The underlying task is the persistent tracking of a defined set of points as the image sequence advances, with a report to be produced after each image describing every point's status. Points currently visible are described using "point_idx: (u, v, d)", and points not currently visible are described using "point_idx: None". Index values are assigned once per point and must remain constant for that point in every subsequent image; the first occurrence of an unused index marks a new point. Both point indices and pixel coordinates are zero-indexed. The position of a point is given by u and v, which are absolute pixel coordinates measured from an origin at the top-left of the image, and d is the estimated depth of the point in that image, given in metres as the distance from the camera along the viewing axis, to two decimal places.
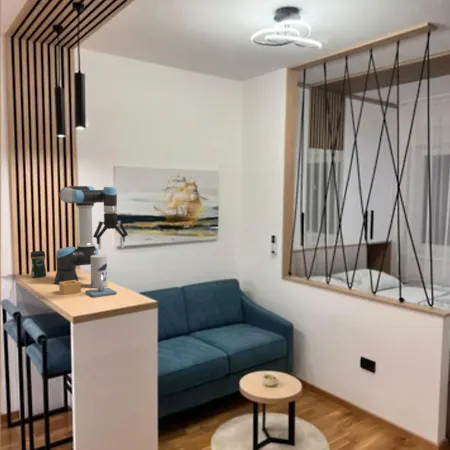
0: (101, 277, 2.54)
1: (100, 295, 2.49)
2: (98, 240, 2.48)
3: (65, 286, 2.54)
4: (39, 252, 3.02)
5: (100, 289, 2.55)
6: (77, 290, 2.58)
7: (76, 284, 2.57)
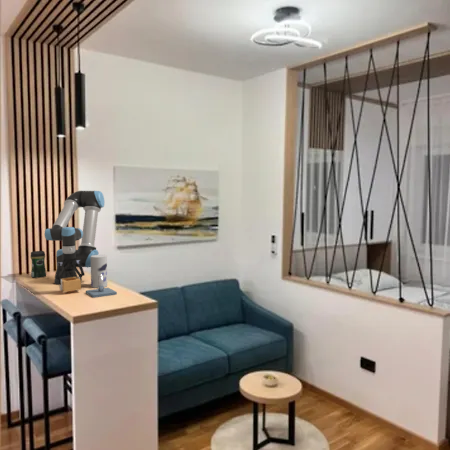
0: (101, 277, 2.54)
1: (100, 295, 2.49)
2: (59, 281, 2.56)
3: (65, 283, 2.54)
4: (39, 252, 3.02)
5: (100, 289, 2.55)
6: (78, 287, 2.59)
7: (76, 281, 2.58)
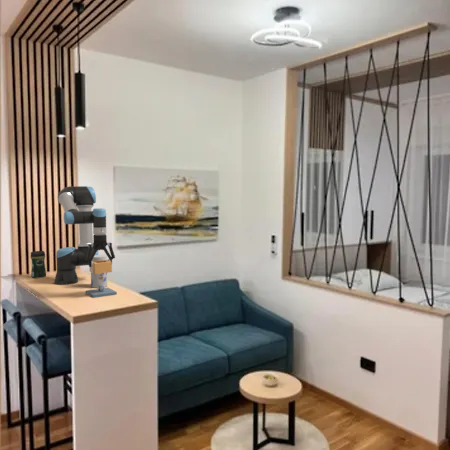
0: (101, 277, 2.54)
1: (100, 295, 2.49)
2: (90, 263, 2.51)
3: (96, 265, 2.49)
4: (39, 252, 3.02)
5: (100, 289, 2.55)
6: (108, 269, 2.53)
7: (107, 263, 2.52)
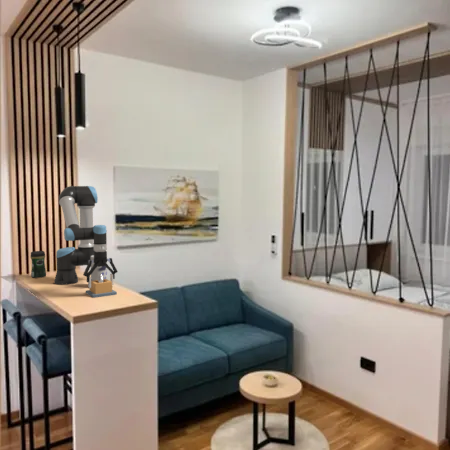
0: (101, 277, 2.54)
1: (100, 295, 2.49)
2: (88, 278, 2.51)
3: (97, 285, 2.50)
4: (39, 252, 3.02)
5: None
6: (109, 289, 2.54)
7: (108, 283, 2.53)
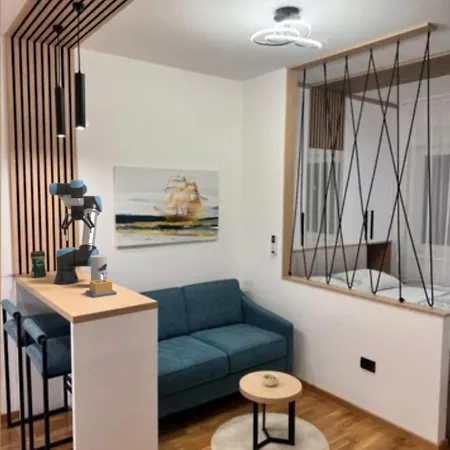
0: (101, 277, 2.54)
1: (100, 295, 2.49)
2: (65, 231, 2.56)
3: (97, 285, 2.50)
4: (39, 252, 3.02)
5: None
6: (109, 289, 2.54)
7: (108, 283, 2.53)
